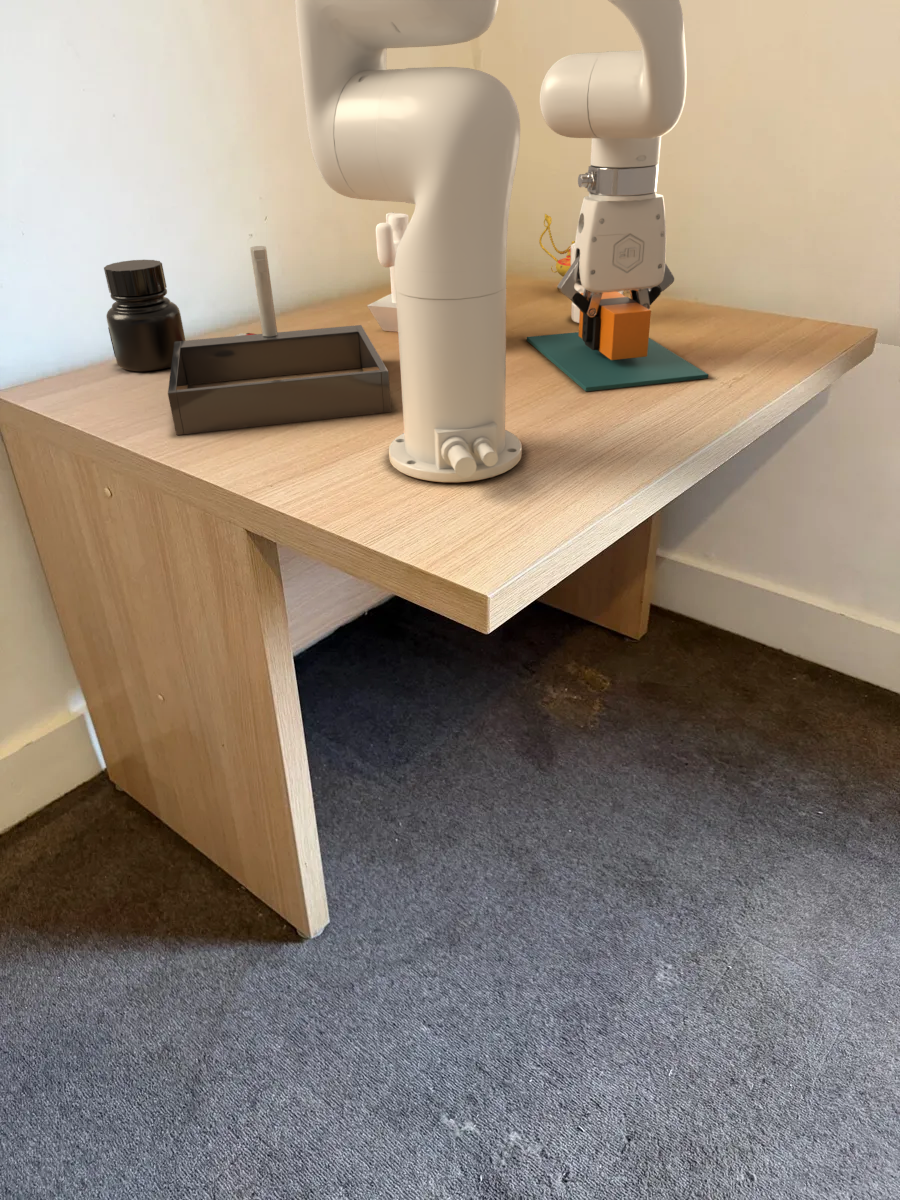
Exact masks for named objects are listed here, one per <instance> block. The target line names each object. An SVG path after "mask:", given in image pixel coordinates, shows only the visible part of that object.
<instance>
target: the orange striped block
mask: <svg viewBox="0 0 900 1200" xmlns="http://www.w3.org/2000/svg"><path fill="white" fill-rule="evenodd" d="M581 294H582V295H583V293H581ZM597 316H599V317H600V318H601V325H600V341H599V349H597V351H599V352H601V353H602V354H604V355H605V356H606V357H608V358H609V359H610V360H618V359H628V358H637V357H646V356H647V351H648V340H649V338H650V328H651V317H652V310H651V309H647V308H646V307H644V306H642V305H640V304H639V303H637V302H636V301H634V300H632V299H631V297H629V296H626V295H624V294H623V295H622V294H621V293H619V292H617V291H616V292H604V293H603V294H602V297H601V300H600V304H599V307H598V313H597ZM582 326H583V312H581V311H580V317H579V323H578V332H579V337H581V338H582Z"/></svg>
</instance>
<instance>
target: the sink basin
mask: <svg viewBox="0 0 900 1200" xmlns="http://www.w3.org/2000/svg"><path fill="white" fill-rule="evenodd" d="M249 251H250V259H251V265H252V271H253V278H254V285H255V292H256V300H257V306H258V314H259V320H260V328H261V333H253V334H254V335H243V336H235V335H232V336H222V337H212V338H210V337H209V338H198V339H191V340H190V339H188V340H185V341H176V342H174V349H173V357H172V364H171V367H170V374H169V379H168V380H169V382H168V388H167V398H168V402H169V407H170V412H171V417H172V422H173V426H174V431H175V435H176V436H180V435H181V436H183V435H193V434H200V433H211V432H219V431H220V432H221V431H229V430H237V429H248V428H256V427H265V426H266V427H267V426H274V425H285V424H294V423H302V422H311V421H312V422H313V421H319V420H331V419H338V418H339V419H340V418H348V417H349V418H350V417H357V416H358V417H359V416H366V415H377V414H386V413H392V403H391V387H390V373H389V370H388V368H387V367H386V365H385V363H384V361H383V360H382V358H381V356H380V354H379V353H378V351H377V349H376V347H375V346H374V344H373V342H372V340H371V339H370V337H369V335H368V334H367V332H366V331H365V329H364V327H363V325H362V324H356V325H355V324H354V325H345V326H344V325H343V326H332V327H324V328H323V327H322V328H312V329H311V328H310V329H299V330H289V331H278V327H277V320H276V313H275V312H276V311H275V305H274V297H273V289H272V282H271V275H270V268H269V267H270V266H269V260H268V251H267V247H266V246H265V245H254V246H251V247H250V248H249ZM355 369H362V371H355V372H346V373H344V372H343V373H335V374H325V375H323V374H322V375H315V376H314V375H313V376H305V377H295V378H284V379H273V380H264V381H263V380H262V381H254V382H242V383H234V384H224V385H223V384H222V385H215V386H204V387H194V388H188V386H192V385H202V384H203V385H204V384H213V383H223V382H232V381H233V382H234V381H243V380H253V379H254V380H255V379H264V378H273V377H274V378H275V377H282V376H294V375H305V374H315V373H324V372H335V371H345V370H355Z"/></svg>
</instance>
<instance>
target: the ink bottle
mask: <svg viewBox="0 0 900 1200" xmlns="http://www.w3.org/2000/svg"><path fill="white" fill-rule="evenodd" d="M103 271H104V275H105V279H106V284H107V288H108V292H109V294H110V298H111V299H112V300H113V301H115V302H113V303H112V304H111V308H109V309H108V310H107V313H106V323H107V326H108V334H109V337H110V343H111V346H112V350H113V355H114V358H115V360H116V365H117V366H118V367H119V368H122V369H123V370H127V371H133V372H151V371H152V372H153V371H160V370H164V369H168V368H171V364H172V357H173V349H174V342H176V341H186V337H185V330H184V325H183V319H182V315H181V311H180V309H179V307H178V305H177V304H176V303H175V302H173V301H171V300H170V299H169V298H168V297H166V296H167V294H168V289H167V282H166V277H165V272H164V267H163V263H162V262H161V261H160V260H157V259H156V260H155V259H131V260H122V261H117V262H112V263H110V264H107V265H105V266H103Z"/></svg>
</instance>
